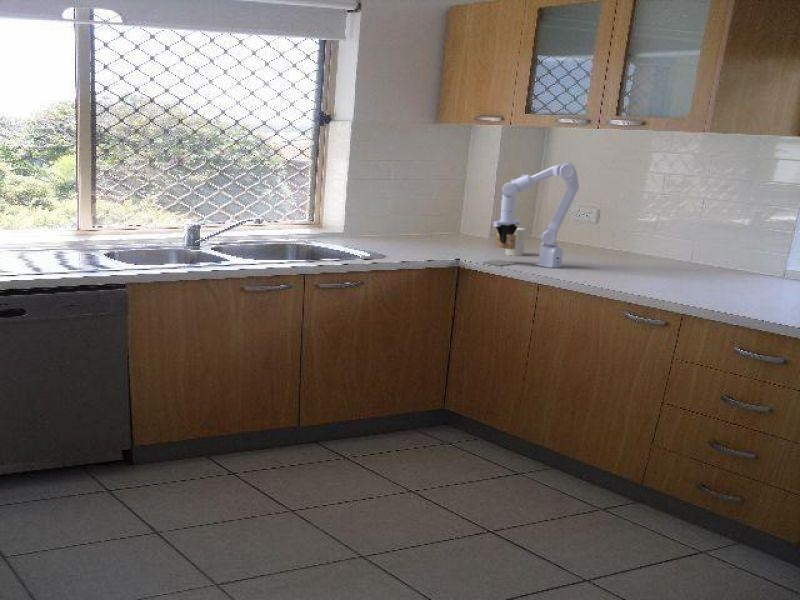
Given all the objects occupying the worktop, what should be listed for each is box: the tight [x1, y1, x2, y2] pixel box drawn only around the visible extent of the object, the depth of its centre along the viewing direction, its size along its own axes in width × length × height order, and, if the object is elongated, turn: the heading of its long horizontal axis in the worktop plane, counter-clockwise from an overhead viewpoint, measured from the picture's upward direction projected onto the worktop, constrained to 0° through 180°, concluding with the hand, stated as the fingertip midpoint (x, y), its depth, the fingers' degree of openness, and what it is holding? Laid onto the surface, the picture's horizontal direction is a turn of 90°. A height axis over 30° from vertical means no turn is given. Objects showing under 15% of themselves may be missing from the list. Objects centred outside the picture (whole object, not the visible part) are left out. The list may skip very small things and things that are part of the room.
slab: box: [494, 232, 516, 250], centre depth 363 cm, size 9×3×6 cm, turn 40°
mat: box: [481, 259, 518, 267], centre depth 363 cm, size 10×11×1 cm
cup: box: [505, 227, 526, 257], centre depth 388 cm, size 8×8×12 cm
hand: (505, 242), depth 363 cm, fingers closed on slab, 3 cm apart
